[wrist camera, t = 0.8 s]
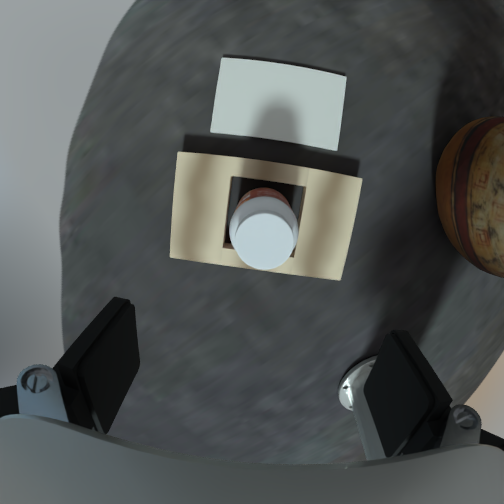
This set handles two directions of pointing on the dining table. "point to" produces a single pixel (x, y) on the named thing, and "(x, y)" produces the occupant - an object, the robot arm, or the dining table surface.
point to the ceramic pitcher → (474, 193)
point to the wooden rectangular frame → (225, 167)
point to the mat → (279, 102)
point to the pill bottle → (263, 229)
